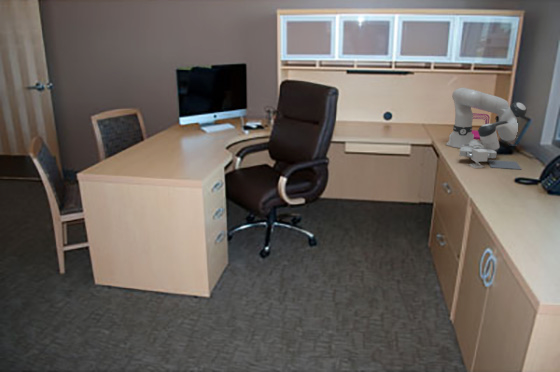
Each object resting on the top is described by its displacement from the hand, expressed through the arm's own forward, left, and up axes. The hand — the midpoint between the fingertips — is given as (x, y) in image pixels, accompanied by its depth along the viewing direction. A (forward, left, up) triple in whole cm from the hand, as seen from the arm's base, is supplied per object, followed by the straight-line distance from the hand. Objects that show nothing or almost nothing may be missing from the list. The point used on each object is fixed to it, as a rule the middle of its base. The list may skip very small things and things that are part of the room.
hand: (478, 156), depth 261 cm
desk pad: (-7, +15, -6) cm, 18 cm away
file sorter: (-89, +6, -6) cm, 90 cm away
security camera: (+1, 0, -6) cm, 6 cm away
